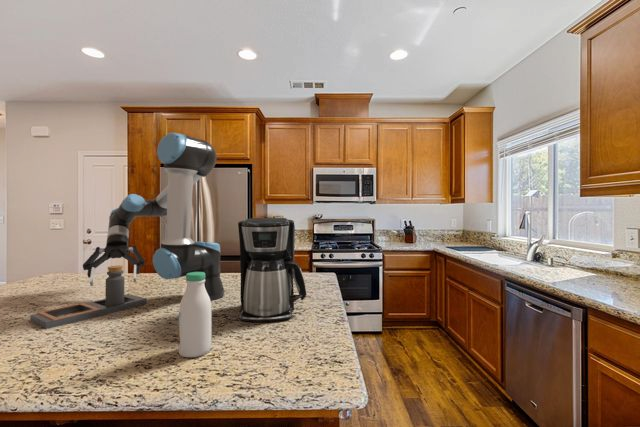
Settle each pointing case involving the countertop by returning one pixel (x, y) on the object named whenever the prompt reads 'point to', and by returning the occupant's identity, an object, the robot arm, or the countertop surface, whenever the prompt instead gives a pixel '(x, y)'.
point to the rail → (88, 311)
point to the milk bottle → (195, 317)
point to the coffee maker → (268, 269)
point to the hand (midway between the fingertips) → (113, 282)
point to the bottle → (114, 286)
